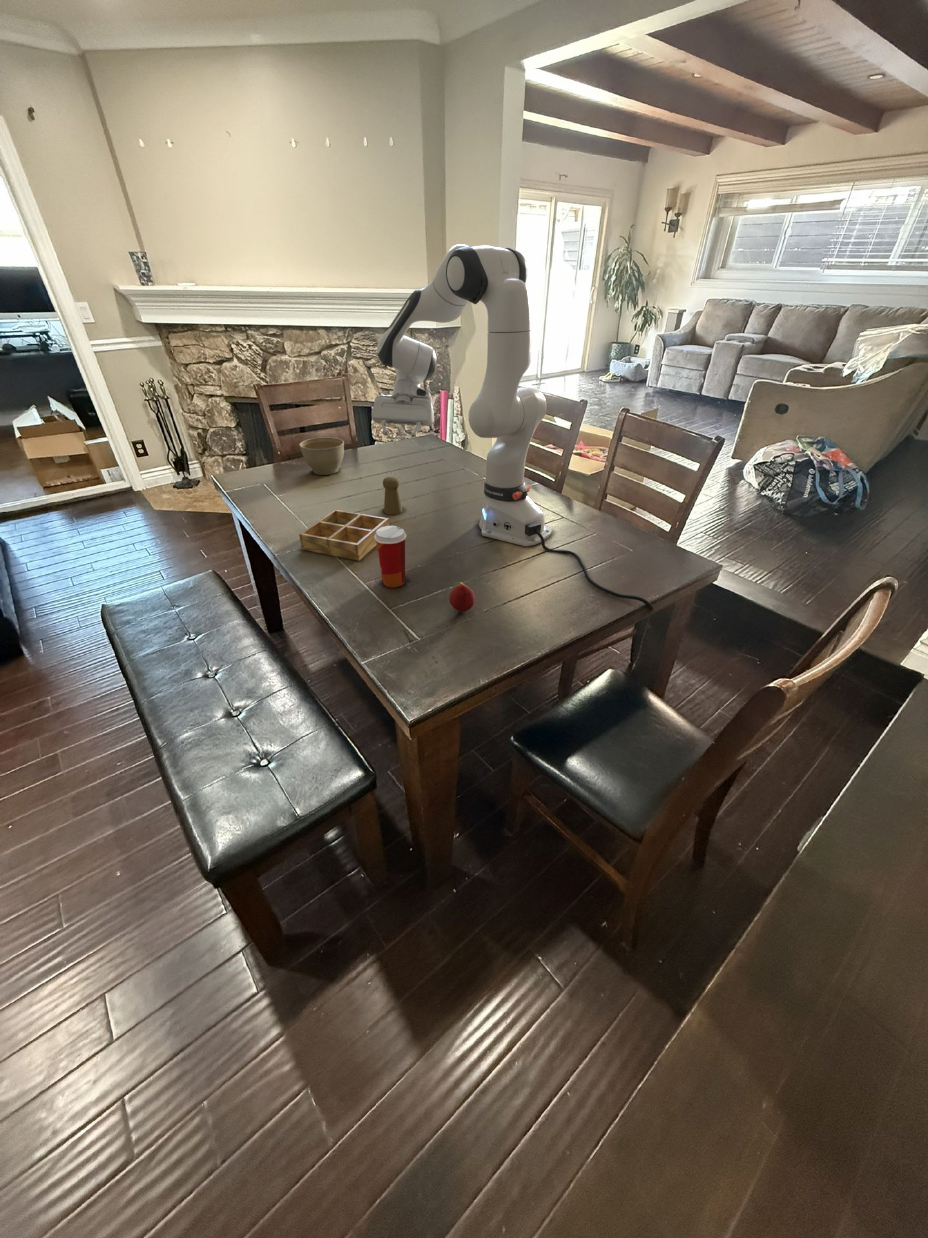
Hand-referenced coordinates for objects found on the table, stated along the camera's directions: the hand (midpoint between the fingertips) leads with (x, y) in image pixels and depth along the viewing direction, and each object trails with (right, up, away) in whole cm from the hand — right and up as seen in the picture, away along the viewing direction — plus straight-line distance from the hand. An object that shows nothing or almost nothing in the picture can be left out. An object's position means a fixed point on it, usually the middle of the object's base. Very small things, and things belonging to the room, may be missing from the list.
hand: (399, 435), depth 165 cm
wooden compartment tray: (-13, -37, -16) cm, 42 cm away
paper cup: (+3, -50, -35) cm, 61 cm away
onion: (+20, -58, -46) cm, 76 cm away
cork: (-2, -24, +2) cm, 24 cm away
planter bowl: (-32, -3, +32) cm, 46 cm away
